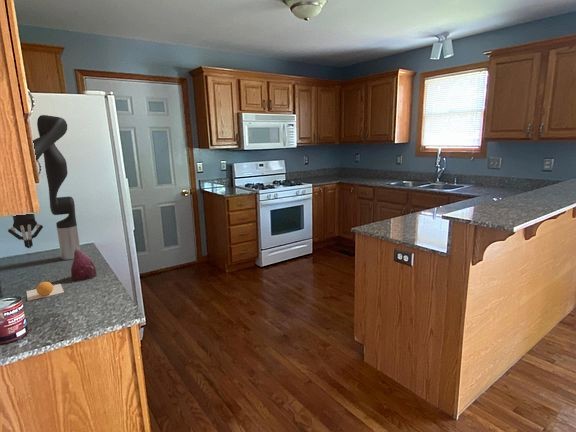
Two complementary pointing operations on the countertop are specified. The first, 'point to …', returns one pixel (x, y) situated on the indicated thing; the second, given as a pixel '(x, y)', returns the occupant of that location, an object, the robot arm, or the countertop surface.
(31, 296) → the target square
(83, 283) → the countertop surface
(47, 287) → the ball
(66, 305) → the countertop surface
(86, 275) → the vegetable
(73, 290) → the countertop surface
